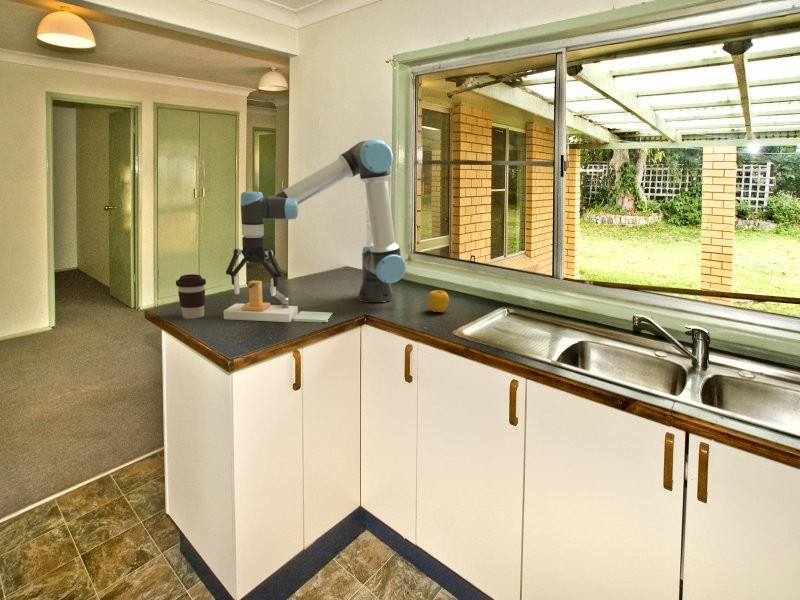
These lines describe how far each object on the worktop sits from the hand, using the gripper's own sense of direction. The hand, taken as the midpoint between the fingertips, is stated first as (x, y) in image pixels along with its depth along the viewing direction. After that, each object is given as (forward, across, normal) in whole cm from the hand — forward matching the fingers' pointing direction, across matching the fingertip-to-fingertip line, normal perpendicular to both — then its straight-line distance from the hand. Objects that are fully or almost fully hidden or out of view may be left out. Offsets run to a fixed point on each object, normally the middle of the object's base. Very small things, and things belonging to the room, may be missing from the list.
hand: (255, 294), depth 183 cm
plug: (+8, 0, 0) cm, 8 cm away
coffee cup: (+9, +22, +4) cm, 24 cm away
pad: (+8, -21, -1) cm, 23 cm away
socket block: (+8, -2, 0) cm, 8 cm away
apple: (+8, -67, -17) cm, 69 cm away
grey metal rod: (+4, -5, -11) cm, 12 cm away
